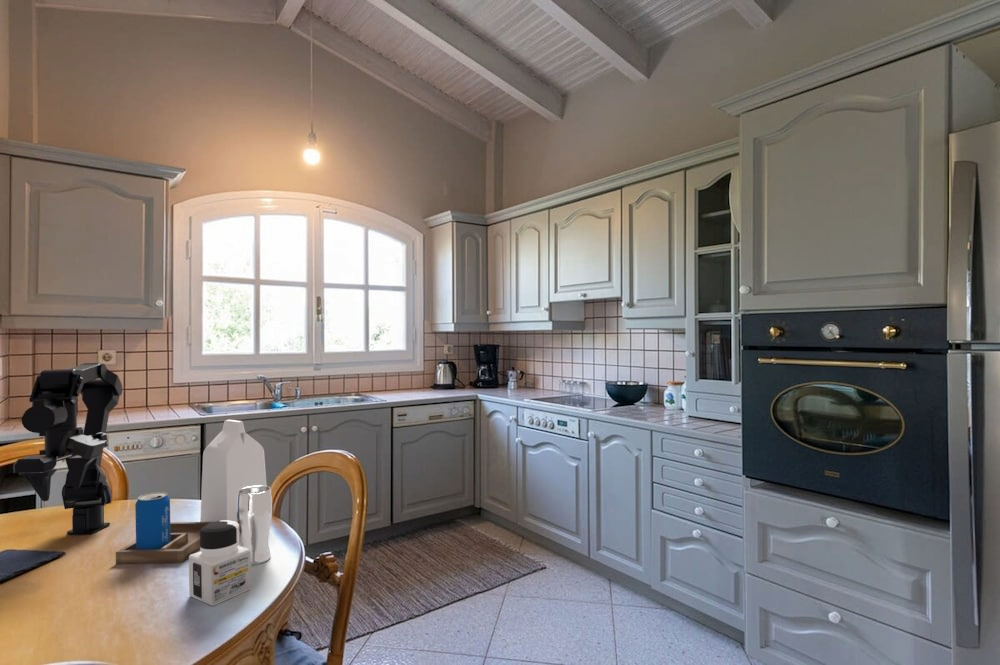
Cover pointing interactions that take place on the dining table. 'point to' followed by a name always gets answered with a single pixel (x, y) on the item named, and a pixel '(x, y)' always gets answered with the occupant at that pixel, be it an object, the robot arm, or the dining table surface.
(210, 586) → the container
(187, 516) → the dining table surface
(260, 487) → the beer glass
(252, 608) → the dining table surface
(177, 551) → the tray
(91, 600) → the dining table surface
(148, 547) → the beverage can
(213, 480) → the milk
